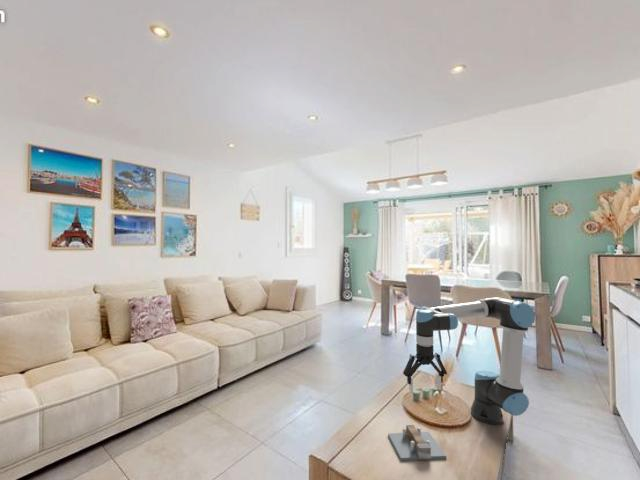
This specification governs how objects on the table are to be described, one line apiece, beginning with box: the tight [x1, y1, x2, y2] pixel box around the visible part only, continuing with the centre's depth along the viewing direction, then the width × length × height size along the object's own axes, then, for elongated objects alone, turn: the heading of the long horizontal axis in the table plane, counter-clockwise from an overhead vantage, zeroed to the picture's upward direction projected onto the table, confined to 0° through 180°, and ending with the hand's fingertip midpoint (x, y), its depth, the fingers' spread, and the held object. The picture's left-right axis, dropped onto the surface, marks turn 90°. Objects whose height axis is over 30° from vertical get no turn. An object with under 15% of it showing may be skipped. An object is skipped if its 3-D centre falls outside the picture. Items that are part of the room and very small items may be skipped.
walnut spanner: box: [405, 424, 431, 460], centre depth 130 cm, size 16×5×4 cm, turn 6°
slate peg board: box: [387, 426, 447, 462], centre depth 131 cm, size 20×16×5 cm
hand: (425, 389), depth 135 cm, fingers open, 13 cm apart
